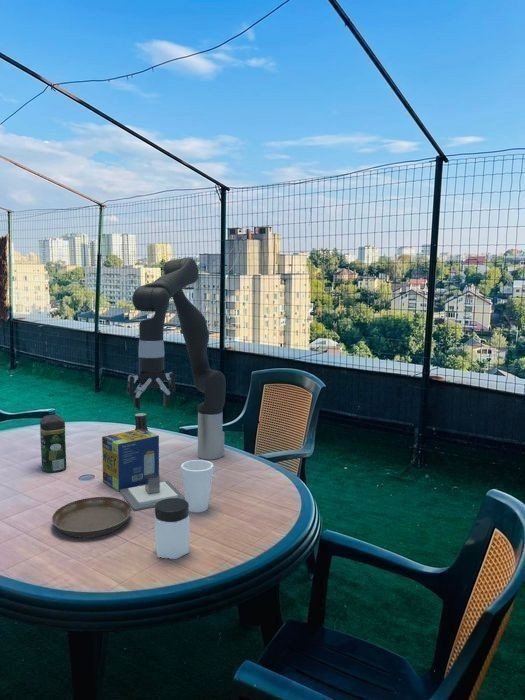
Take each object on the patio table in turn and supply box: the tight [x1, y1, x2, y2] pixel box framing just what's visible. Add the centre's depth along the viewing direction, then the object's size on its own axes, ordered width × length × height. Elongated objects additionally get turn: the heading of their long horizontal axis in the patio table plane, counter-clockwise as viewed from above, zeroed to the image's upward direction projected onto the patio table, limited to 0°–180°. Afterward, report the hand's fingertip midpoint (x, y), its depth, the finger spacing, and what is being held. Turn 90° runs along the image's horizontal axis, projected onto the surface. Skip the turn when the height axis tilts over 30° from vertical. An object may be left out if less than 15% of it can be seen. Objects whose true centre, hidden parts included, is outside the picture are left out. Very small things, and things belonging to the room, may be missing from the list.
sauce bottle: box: [134, 412, 149, 431], centre depth 183 cm, size 7×6×20 cm
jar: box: [154, 498, 191, 560], centre depth 130 cm, size 9×8×12 cm
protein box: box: [101, 428, 160, 492], centre depth 173 cm, size 10×15×16 cm
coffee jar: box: [39, 414, 67, 473], centre depth 183 cm, size 10×8×19 cm
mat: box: [119, 480, 185, 512], centre depth 163 cm, size 16×16×1 cm
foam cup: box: [180, 459, 215, 513], centre depth 154 cm, size 10×9×13 cm
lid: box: [128, 473, 178, 505], centre depth 162 cm, size 12×12×6 cm
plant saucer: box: [51, 496, 133, 538], centre depth 144 cm, size 21×21×3 cm
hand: (151, 408), depth 159 cm, fingers open, 8 cm apart
